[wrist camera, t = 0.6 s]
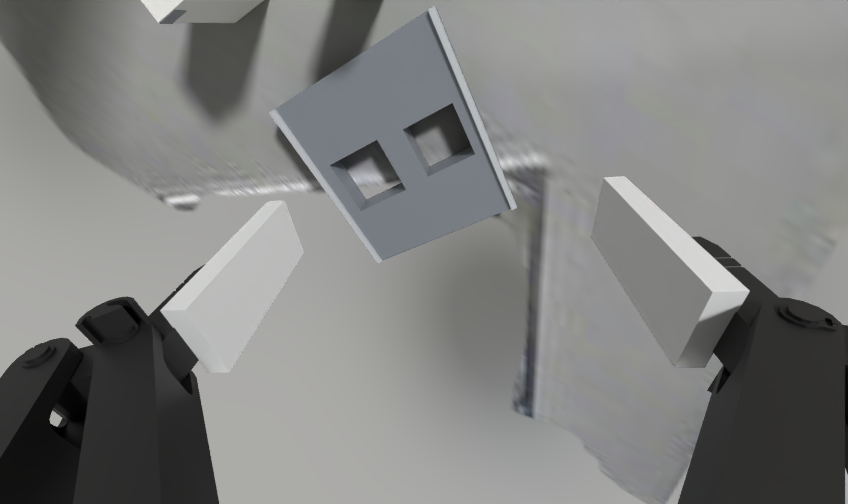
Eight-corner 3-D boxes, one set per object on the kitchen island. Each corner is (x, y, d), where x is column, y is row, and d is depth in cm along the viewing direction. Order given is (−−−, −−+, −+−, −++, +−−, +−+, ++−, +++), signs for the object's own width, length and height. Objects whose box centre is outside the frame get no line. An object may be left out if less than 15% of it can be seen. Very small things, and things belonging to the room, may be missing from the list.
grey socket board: (283, 105, 35) (268, 112, 33) (436, 7, 30) (434, 5, 27) (382, 248, 45) (377, 263, 42) (512, 194, 39) (517, 207, 36)
